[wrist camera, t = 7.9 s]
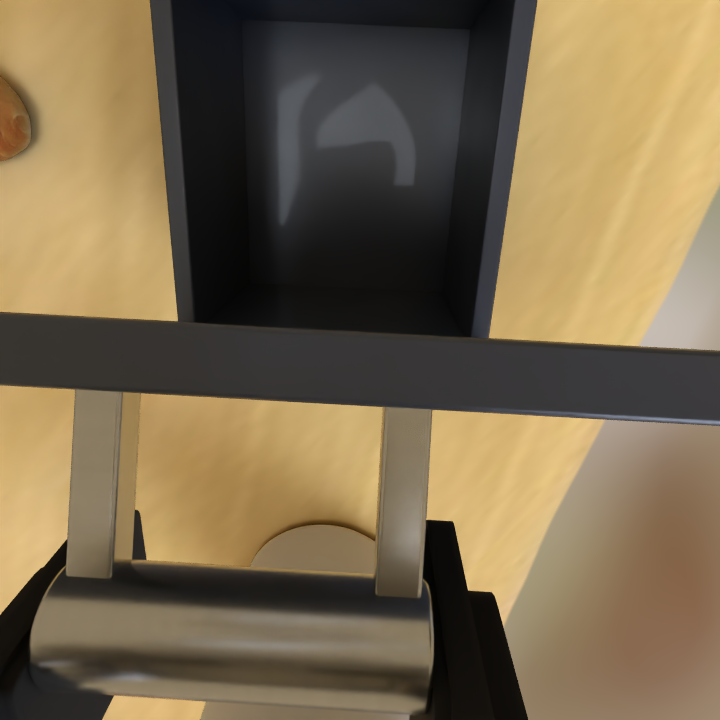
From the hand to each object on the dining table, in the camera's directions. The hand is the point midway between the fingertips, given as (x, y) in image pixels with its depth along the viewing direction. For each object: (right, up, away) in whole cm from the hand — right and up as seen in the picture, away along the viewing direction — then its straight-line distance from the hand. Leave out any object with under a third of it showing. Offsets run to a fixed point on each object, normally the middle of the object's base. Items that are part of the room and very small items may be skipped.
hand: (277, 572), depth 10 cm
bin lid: (0, +5, +3) cm, 6 cm away
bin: (+1, +16, +19) cm, 25 cm away
